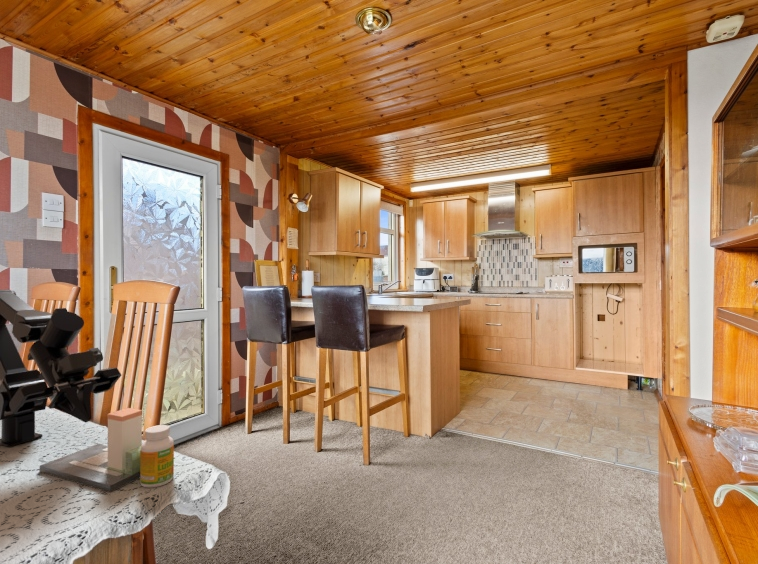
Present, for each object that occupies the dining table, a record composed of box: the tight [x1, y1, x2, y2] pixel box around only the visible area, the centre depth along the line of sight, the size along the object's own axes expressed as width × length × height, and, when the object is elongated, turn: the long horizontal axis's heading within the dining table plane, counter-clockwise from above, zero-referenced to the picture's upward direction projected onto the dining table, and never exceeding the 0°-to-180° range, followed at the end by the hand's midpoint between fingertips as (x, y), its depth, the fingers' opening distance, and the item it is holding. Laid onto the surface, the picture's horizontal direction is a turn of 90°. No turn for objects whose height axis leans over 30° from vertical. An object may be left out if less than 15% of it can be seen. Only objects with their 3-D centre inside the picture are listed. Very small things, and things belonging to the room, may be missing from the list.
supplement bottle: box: [139, 424, 175, 488], centre depth 73 cm, size 5×5×10 cm
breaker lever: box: [106, 407, 143, 470], centre depth 77 cm, size 4×4×10 cm
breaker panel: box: [39, 443, 141, 493], centre depth 78 cm, size 20×11×5 cm, turn 69°
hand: (88, 420), depth 81 cm, fingers closed
